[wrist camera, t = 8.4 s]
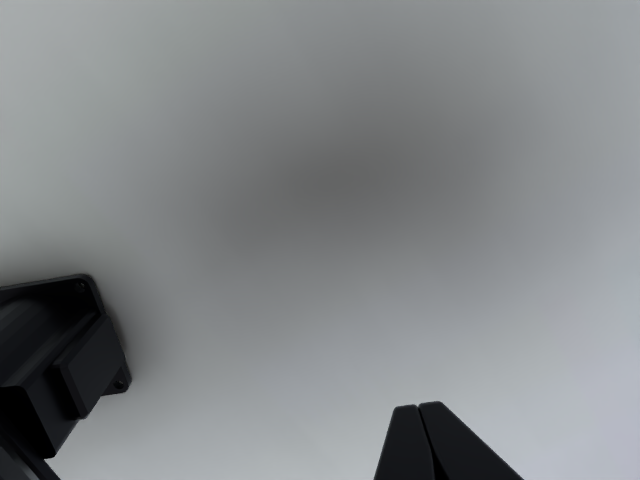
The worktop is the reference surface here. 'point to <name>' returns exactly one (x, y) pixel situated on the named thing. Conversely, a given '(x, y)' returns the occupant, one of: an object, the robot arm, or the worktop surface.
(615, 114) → the worktop surface
